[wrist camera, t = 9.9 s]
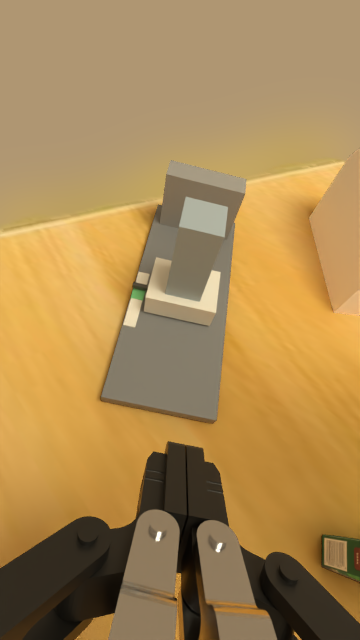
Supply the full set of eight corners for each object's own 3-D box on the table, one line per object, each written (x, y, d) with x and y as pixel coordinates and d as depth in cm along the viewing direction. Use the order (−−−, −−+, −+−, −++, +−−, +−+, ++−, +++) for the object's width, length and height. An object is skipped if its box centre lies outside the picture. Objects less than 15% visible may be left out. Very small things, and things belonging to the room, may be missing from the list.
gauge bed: (232, 230, 49) (253, 176, 41) (213, 423, 33) (242, 397, 25) (157, 212, 48) (164, 153, 40) (101, 401, 33) (95, 366, 25)
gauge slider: (219, 243, 45) (252, 157, 34) (209, 326, 37) (246, 251, 26) (151, 226, 44) (161, 133, 33) (127, 307, 37) (129, 223, 26)
